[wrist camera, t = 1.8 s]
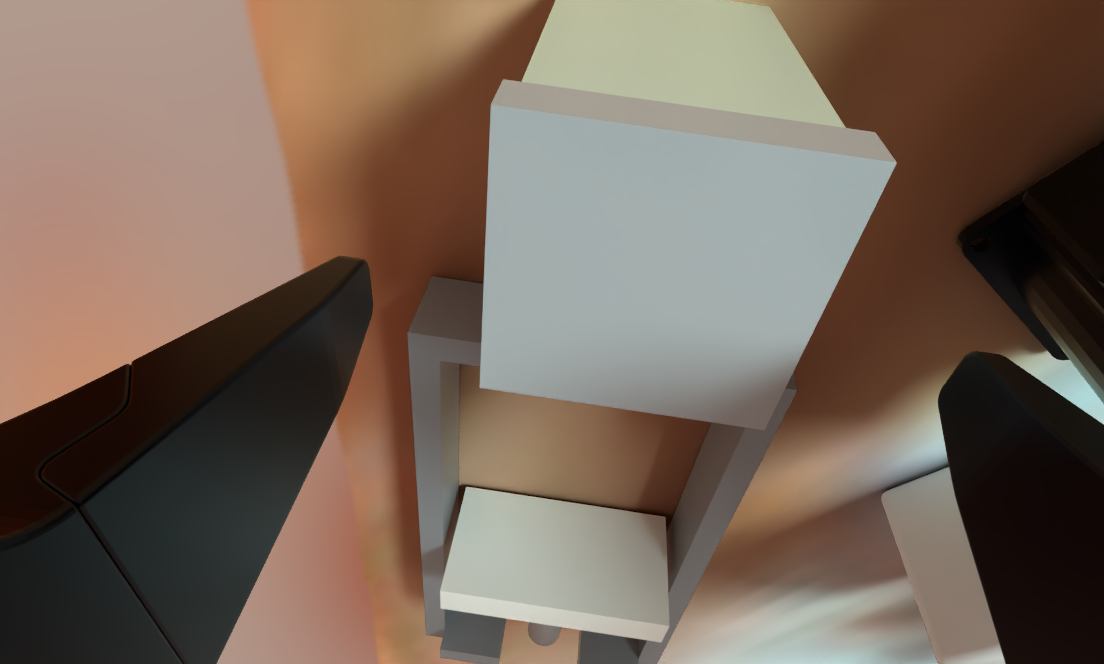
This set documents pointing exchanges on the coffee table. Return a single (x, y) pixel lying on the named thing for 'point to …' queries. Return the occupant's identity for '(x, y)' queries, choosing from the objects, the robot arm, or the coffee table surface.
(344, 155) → the coffee table surface
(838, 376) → the coffee table surface
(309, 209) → the coffee table surface
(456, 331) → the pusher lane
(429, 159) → the coffee table surface
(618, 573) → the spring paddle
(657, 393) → the sage jar
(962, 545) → the medicine bottle
